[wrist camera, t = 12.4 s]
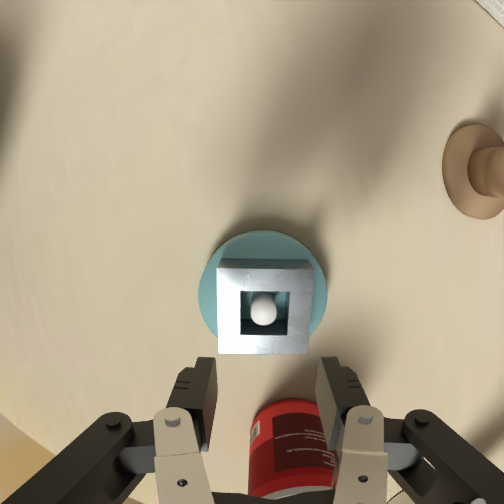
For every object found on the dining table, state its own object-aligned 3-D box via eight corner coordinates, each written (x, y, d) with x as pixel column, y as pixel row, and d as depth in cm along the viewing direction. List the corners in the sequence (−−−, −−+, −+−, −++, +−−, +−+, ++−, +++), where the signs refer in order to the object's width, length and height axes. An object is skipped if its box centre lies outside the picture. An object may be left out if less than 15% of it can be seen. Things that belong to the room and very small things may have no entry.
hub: (345, 288, 24) (362, 311, 20) (261, 361, 26) (262, 394, 21) (263, 203, 23) (264, 209, 18) (179, 288, 24) (163, 311, 20)
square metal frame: (307, 259, 21) (314, 269, 19) (302, 336, 23) (307, 353, 20) (221, 258, 22) (216, 268, 19) (222, 335, 23) (219, 352, 20)
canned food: (268, 459, 28) (270, 544, 18) (236, 410, 27) (227, 507, 16) (338, 437, 28) (361, 522, 17) (316, 384, 26) (340, 480, 15)
